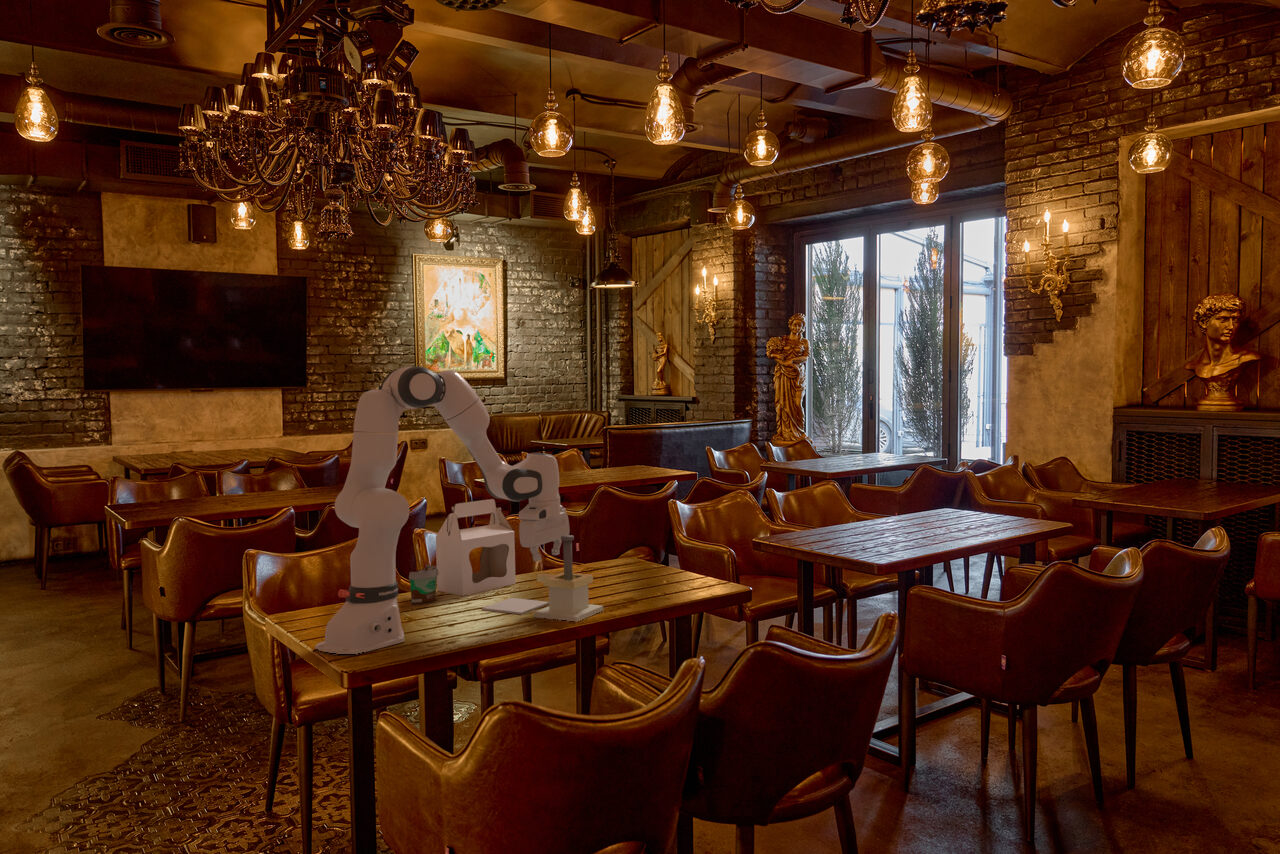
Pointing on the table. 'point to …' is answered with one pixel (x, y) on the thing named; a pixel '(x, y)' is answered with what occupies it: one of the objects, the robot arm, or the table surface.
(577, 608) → the stand
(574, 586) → the ring
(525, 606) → the mat
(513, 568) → the gable box
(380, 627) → the robot arm
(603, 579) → the table surface
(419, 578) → the food container
